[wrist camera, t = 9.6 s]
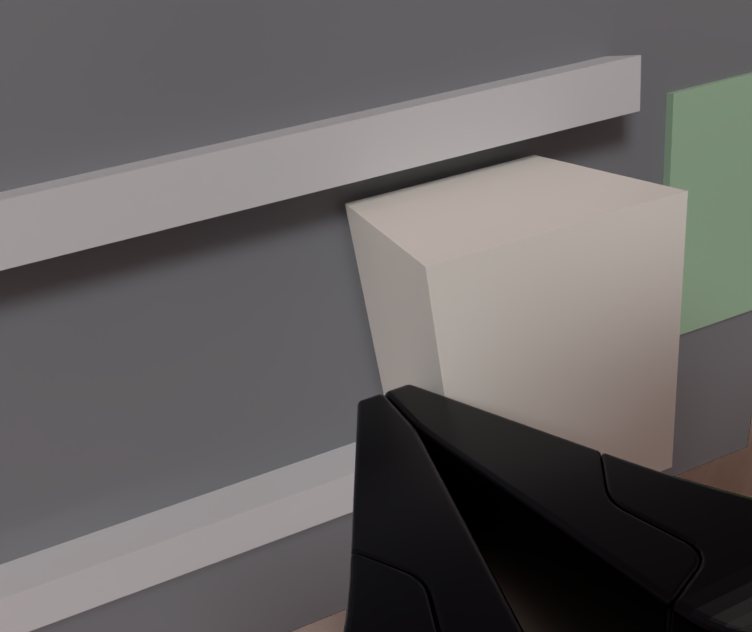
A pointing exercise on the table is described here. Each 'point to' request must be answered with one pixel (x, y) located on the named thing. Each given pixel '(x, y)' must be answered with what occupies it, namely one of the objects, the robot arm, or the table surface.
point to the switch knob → (533, 298)
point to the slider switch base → (295, 265)
